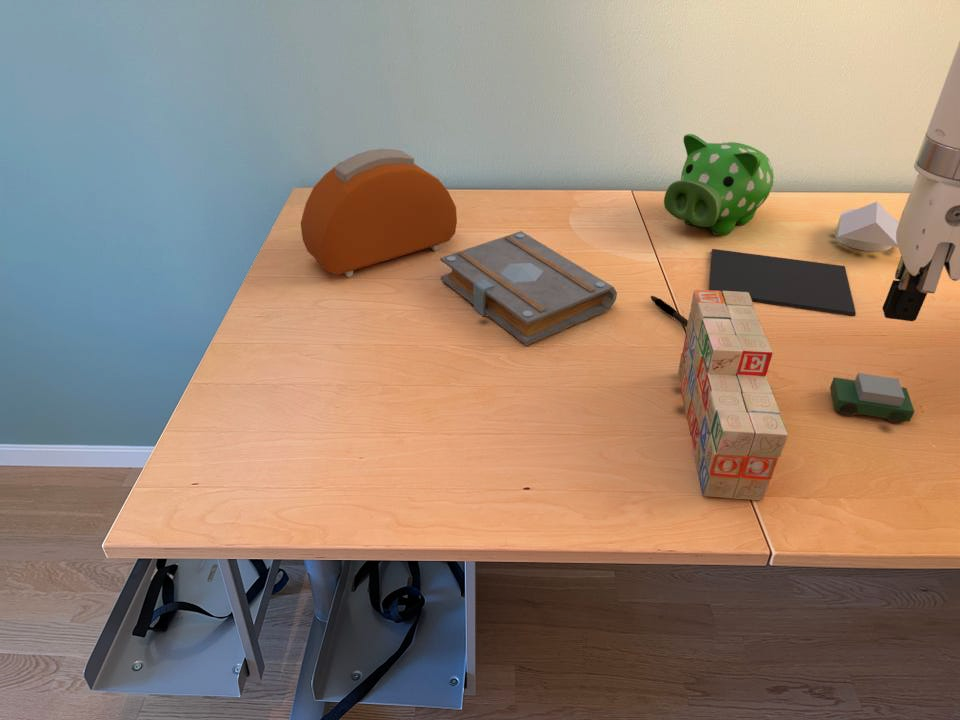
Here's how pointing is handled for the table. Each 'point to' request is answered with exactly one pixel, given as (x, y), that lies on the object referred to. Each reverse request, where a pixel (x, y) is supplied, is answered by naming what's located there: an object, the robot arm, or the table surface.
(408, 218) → the orange toaster
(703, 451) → the stack of blocks
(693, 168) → the piggy bank
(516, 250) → the book
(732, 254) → the mat
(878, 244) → the wedge on round base
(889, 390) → the toy car
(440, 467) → the table surface
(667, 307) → the pen
